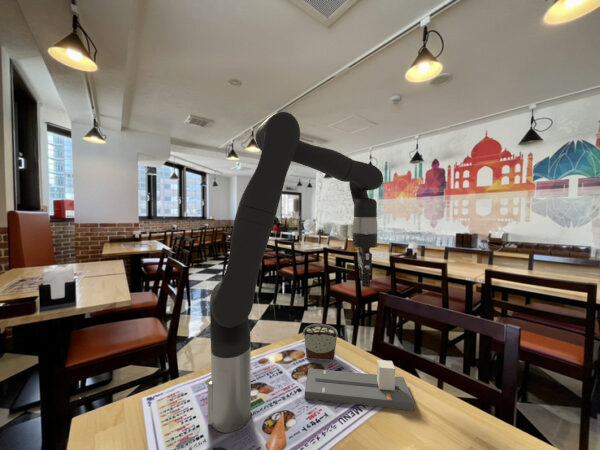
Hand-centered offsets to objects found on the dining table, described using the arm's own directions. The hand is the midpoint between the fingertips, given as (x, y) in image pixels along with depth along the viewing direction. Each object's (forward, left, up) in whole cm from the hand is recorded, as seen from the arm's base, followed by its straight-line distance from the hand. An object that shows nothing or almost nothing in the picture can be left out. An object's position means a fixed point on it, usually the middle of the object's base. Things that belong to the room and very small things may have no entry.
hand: (364, 282), depth 77 cm
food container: (-14, +6, -28) cm, 32 cm away
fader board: (-3, -10, -28) cm, 30 cm away
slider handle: (+5, -10, -26) cm, 28 cm away
